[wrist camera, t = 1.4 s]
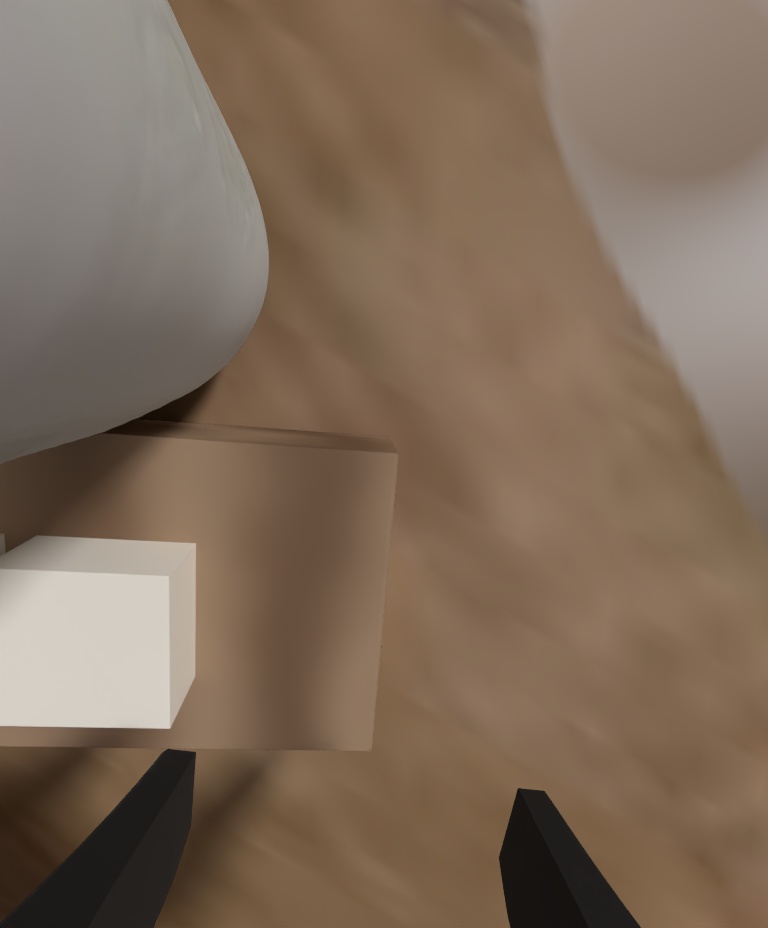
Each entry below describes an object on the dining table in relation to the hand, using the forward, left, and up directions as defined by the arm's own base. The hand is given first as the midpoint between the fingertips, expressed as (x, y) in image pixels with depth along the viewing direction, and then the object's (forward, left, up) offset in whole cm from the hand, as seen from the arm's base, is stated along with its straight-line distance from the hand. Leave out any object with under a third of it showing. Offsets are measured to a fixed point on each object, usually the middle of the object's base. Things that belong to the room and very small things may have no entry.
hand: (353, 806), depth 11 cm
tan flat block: (-9, +1, -10) cm, 14 cm away
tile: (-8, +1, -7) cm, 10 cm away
